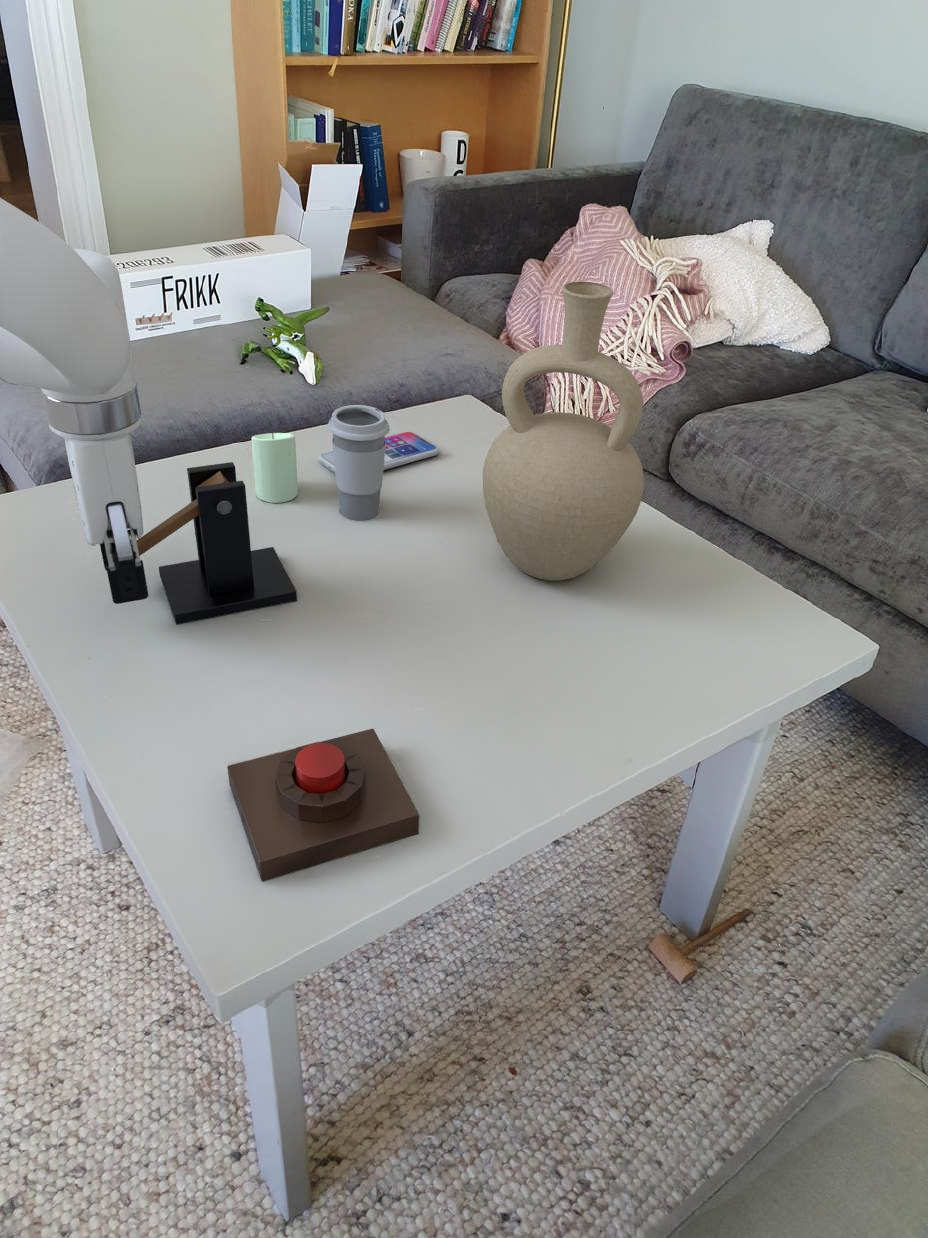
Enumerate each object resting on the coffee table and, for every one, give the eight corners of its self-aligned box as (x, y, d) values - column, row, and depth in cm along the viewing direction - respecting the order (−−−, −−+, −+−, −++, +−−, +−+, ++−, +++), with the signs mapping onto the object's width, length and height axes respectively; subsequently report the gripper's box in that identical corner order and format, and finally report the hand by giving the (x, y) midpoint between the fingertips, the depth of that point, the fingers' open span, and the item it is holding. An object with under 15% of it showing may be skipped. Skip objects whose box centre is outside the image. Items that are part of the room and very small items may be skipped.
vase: (459, 591, 96) (480, 302, 78) (493, 516, 109) (517, 254, 91) (618, 621, 93) (676, 329, 76) (632, 540, 106) (685, 276, 89)
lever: (129, 584, 86) (111, 568, 84) (121, 557, 89) (104, 541, 88) (242, 505, 86) (228, 487, 85) (230, 481, 90) (216, 464, 88)
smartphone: (314, 454, 117) (410, 429, 125) (315, 461, 118) (410, 435, 126) (345, 476, 112) (443, 448, 120) (345, 483, 113) (442, 455, 121)
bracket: (176, 624, 88) (158, 508, 81) (159, 576, 95) (141, 464, 87) (297, 601, 93) (291, 488, 85) (273, 556, 99) (266, 447, 92)
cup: (400, 514, 108) (402, 419, 101) (354, 531, 104) (353, 434, 97) (363, 491, 112) (363, 398, 105) (318, 506, 108) (315, 411, 101)
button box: (261, 882, 65) (257, 845, 62) (229, 785, 72) (224, 748, 70) (418, 834, 69) (420, 797, 67) (373, 747, 76) (373, 711, 74)
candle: (254, 485, 112) (248, 422, 107) (295, 482, 113) (292, 420, 108) (257, 505, 108) (252, 440, 103) (300, 501, 109) (297, 438, 104)
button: (304, 799, 66) (303, 782, 65) (290, 766, 69) (289, 749, 68) (351, 786, 68) (351, 769, 67) (336, 754, 70) (335, 737, 69)
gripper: (38, 374, 83) (75, 546, 93) (55, 455, 70) (96, 642, 81) (124, 366, 85) (151, 534, 96) (156, 442, 73) (183, 625, 84)
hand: (126, 581), depth 88 cm, fingers closed on lever, 5 cm apart
